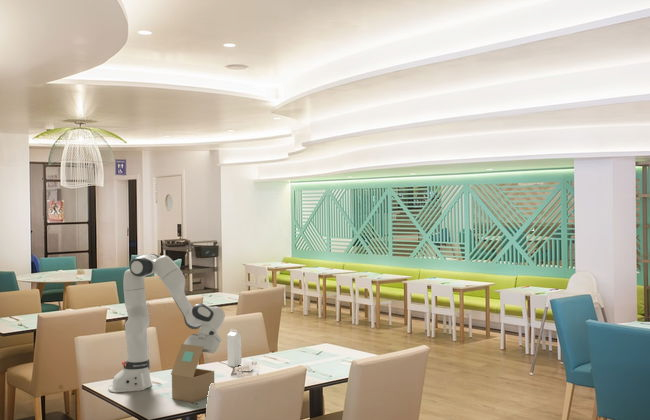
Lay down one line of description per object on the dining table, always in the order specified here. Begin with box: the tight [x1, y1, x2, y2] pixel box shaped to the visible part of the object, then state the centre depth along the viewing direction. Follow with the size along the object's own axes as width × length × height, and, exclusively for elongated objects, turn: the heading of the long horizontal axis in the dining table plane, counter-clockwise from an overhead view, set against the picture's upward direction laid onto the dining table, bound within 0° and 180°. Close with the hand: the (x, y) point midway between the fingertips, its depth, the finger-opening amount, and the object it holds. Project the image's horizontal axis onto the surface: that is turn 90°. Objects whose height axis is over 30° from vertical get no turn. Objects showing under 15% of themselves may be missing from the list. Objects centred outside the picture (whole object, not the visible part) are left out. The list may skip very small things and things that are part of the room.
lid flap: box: [170, 343, 203, 378], centre depth 326 cm, size 16×14×1 cm
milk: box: [226, 328, 242, 368], centre depth 394 cm, size 6×6×22 cm
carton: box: [171, 368, 215, 403], centre depth 330 cm, size 16×14×12 cm
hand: (193, 357), depth 330 cm, fingers closed
